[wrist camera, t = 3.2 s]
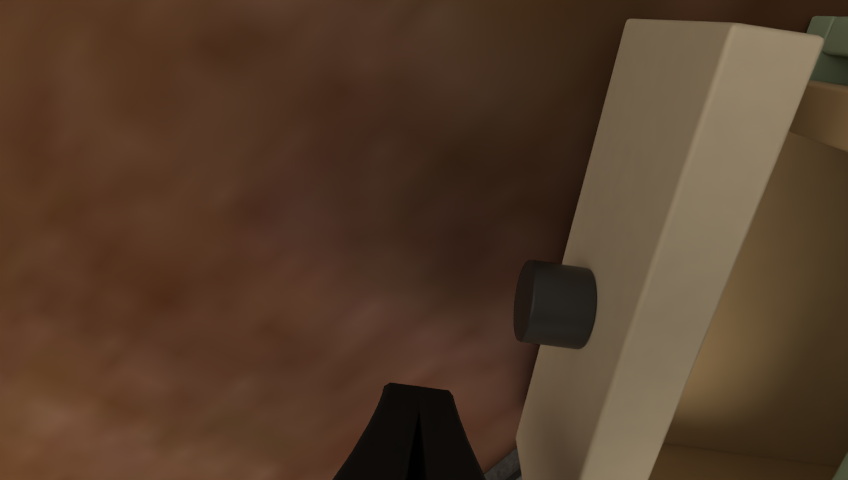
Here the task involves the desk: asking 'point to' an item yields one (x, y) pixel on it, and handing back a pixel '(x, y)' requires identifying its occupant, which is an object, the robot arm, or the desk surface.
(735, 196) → the drawer
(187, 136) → the desk surface
